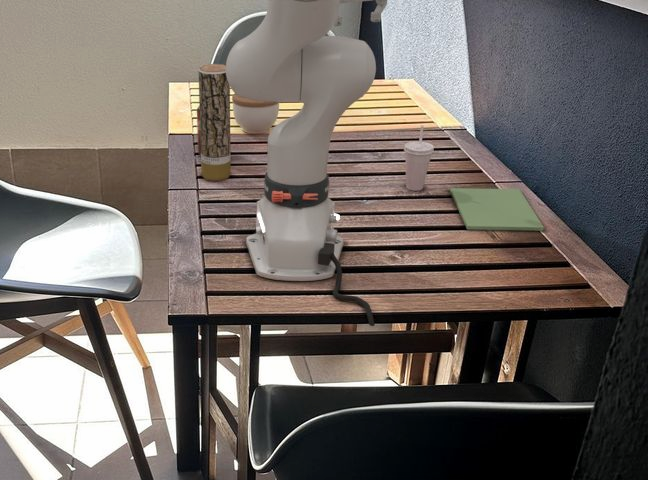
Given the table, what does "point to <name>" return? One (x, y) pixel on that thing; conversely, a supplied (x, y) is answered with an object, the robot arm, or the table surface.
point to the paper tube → (214, 122)
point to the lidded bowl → (254, 114)
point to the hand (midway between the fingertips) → (355, 23)
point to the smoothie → (417, 162)
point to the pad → (495, 209)
